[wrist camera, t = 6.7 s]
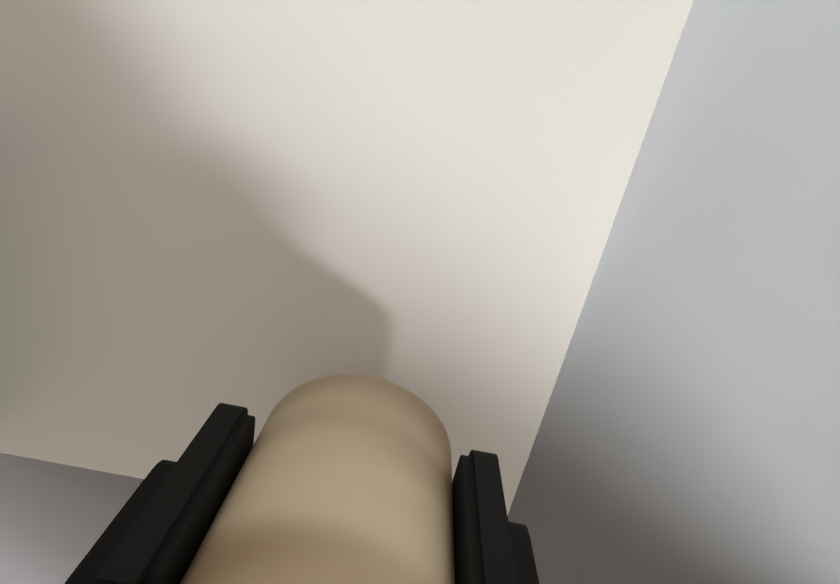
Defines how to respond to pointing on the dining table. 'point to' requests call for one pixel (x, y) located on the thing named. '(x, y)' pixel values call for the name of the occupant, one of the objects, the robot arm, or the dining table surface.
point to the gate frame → (305, 208)
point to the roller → (338, 493)
